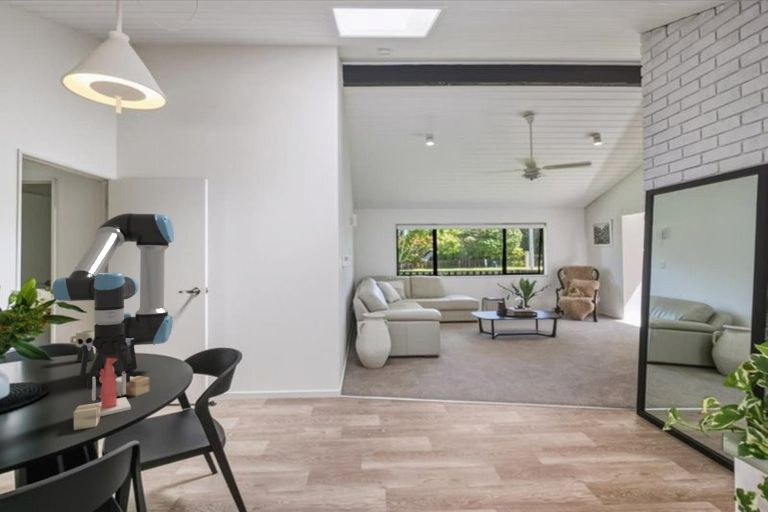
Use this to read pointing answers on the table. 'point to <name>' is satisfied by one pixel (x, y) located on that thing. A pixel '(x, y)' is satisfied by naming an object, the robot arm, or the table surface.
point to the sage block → (119, 386)
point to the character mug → (83, 342)
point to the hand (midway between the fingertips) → (109, 395)
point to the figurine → (108, 384)
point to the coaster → (116, 407)
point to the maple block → (86, 416)
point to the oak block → (137, 386)
